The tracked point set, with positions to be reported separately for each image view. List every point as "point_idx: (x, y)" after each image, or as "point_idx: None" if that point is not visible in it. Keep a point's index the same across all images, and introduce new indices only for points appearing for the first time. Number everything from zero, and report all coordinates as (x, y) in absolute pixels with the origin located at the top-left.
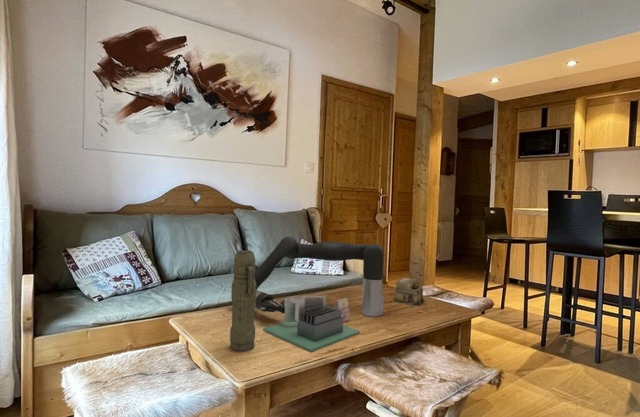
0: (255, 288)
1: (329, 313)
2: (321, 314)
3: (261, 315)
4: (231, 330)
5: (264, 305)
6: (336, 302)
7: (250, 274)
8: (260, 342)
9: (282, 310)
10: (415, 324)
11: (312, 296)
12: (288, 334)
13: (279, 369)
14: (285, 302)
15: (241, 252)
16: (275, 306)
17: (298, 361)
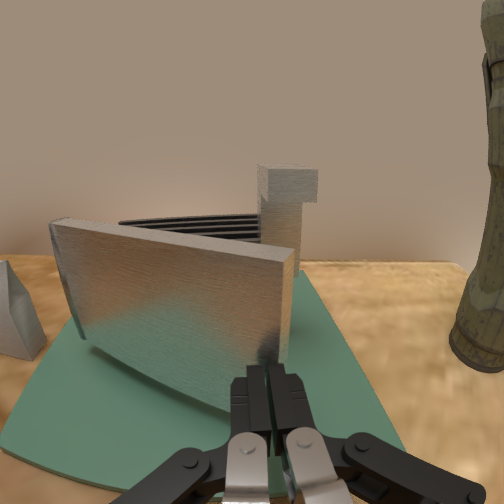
0: (489, 122)
1: (183, 217)
2: (206, 225)
3: None
4: None
5: (456, 478)
6: (6, 272)
7: (490, 78)
8: (430, 357)
9: (293, 380)
10: (13, 263)
11: (85, 228)
12: (313, 351)
13: (394, 263)
14: (291, 286)
15: None
16: (326, 459)
17: (350, 266)
